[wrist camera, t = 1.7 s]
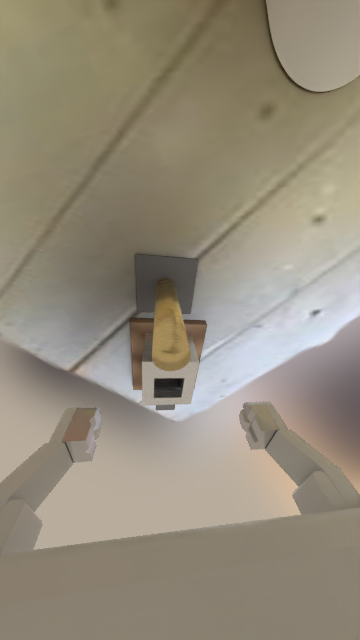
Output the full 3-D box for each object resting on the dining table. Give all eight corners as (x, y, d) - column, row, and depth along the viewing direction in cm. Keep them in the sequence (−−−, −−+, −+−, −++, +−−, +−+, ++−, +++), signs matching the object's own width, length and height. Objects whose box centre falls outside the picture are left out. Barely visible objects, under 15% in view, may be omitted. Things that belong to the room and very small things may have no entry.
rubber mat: (135, 253, 25) (135, 254, 24) (197, 259, 26) (198, 259, 26) (137, 310, 29) (136, 311, 29) (189, 312, 30) (190, 313, 30)
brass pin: (156, 277, 26) (152, 341, 12) (176, 278, 27) (193, 341, 13) (155, 295, 28) (151, 371, 14) (174, 296, 28) (188, 371, 14)
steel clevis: (145, 332, 30) (141, 361, 24) (191, 334, 31) (199, 361, 25) (145, 388, 37) (142, 421, 31) (183, 387, 38) (187, 419, 32)
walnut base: (131, 317, 30) (130, 322, 28) (205, 320, 32) (207, 324, 30) (134, 384, 38) (133, 390, 37) (192, 383, 40) (194, 388, 38)
